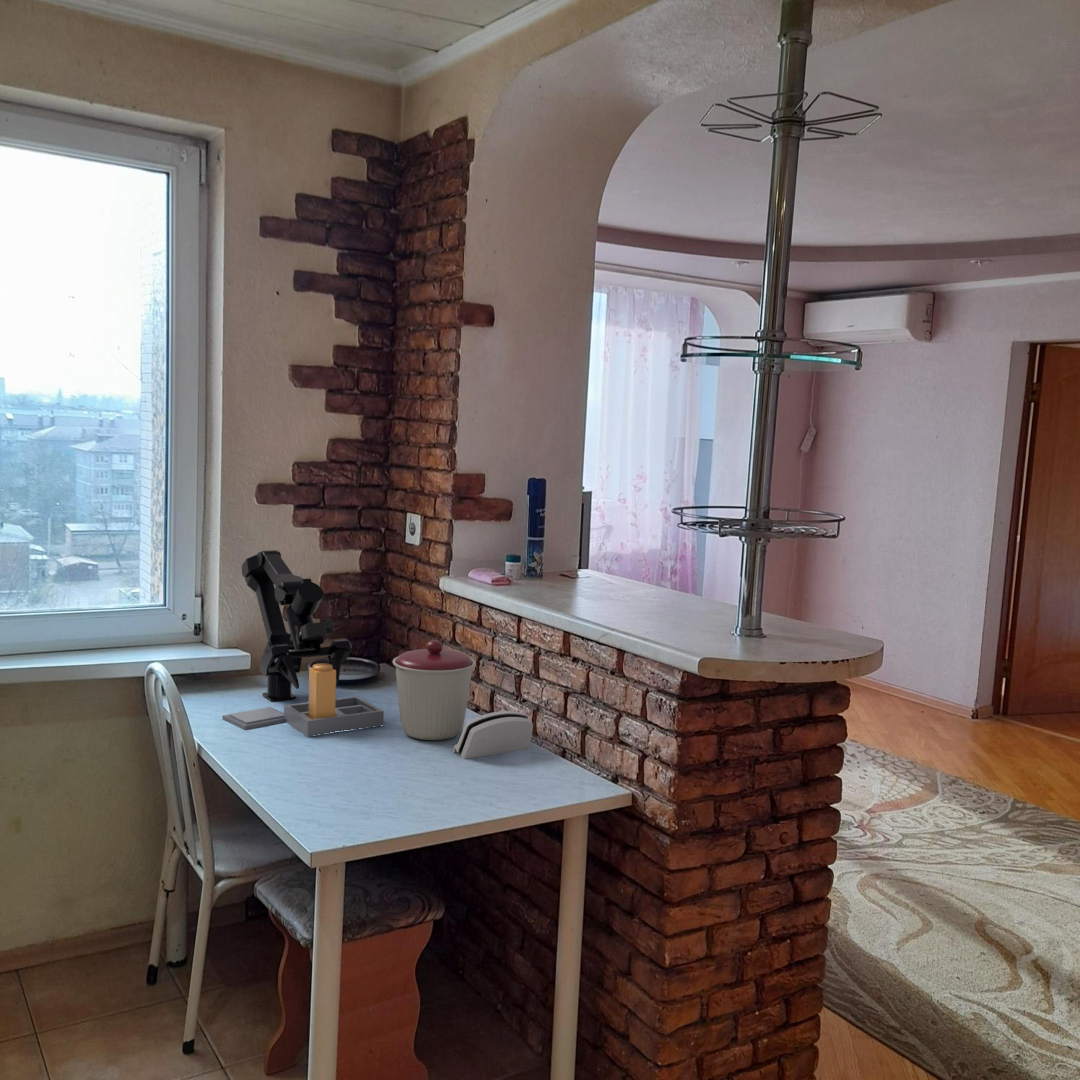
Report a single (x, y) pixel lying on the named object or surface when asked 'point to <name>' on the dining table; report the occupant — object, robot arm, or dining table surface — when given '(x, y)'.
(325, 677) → the post
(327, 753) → the dining table surface
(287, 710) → the tray
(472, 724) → the napkin holder
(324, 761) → the dining table surface
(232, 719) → the lid
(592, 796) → the dining table surface
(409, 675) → the canister
